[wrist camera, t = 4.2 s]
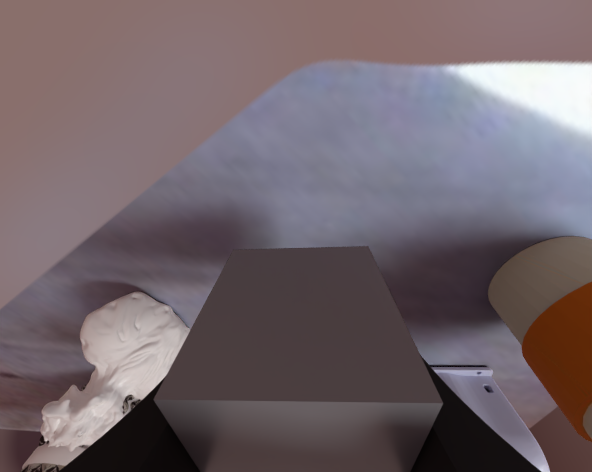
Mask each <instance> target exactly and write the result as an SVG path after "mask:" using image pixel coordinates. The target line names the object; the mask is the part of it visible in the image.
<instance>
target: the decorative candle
mask: <svg viewBox="0 0 592 472" xmlns="http://www.w3.org/2000/svg"><path fill="white" fill-rule="evenodd" d="M86 386H87V385H84V386H83V387H82V391H83V390H84V389H85V388H86ZM140 401H142V400H140V399H136V398H134V397H133V395H127V396H126V398H125V400H124V402H123V406H122V408H123V415H124V416H125V415H126V414H128V413H129V412H130V411H131V410H132V409H133V408H134V407H135V406H136V405H137V404H138V403H139V402H140ZM48 446H49V440H47V441H46V442H45V441H44V437H43V436H42V437H41V438H40V443H39V447H37V449H36V450H35V451H34V452H33V453H32V455H31V456H30V457H29V458H28V460H27V461H26V462H25V463H24V465H23V466H22V471H21V472H58V471H60V470H61V469H62V468H63V467H65V466H66V465H67V464H69V463H70V462H71V461H72V460H73V459H75V458H76V457H77V456H78V455H80V454H81V453H82V452H83V451H84V450H86V449H87V448H88V447H89V446H91V445H82V446H78V447H76V448H75V449H74V450H73V451H69V449H68V447H66V446H58V447H55V446H49V447H48Z"/></svg>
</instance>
